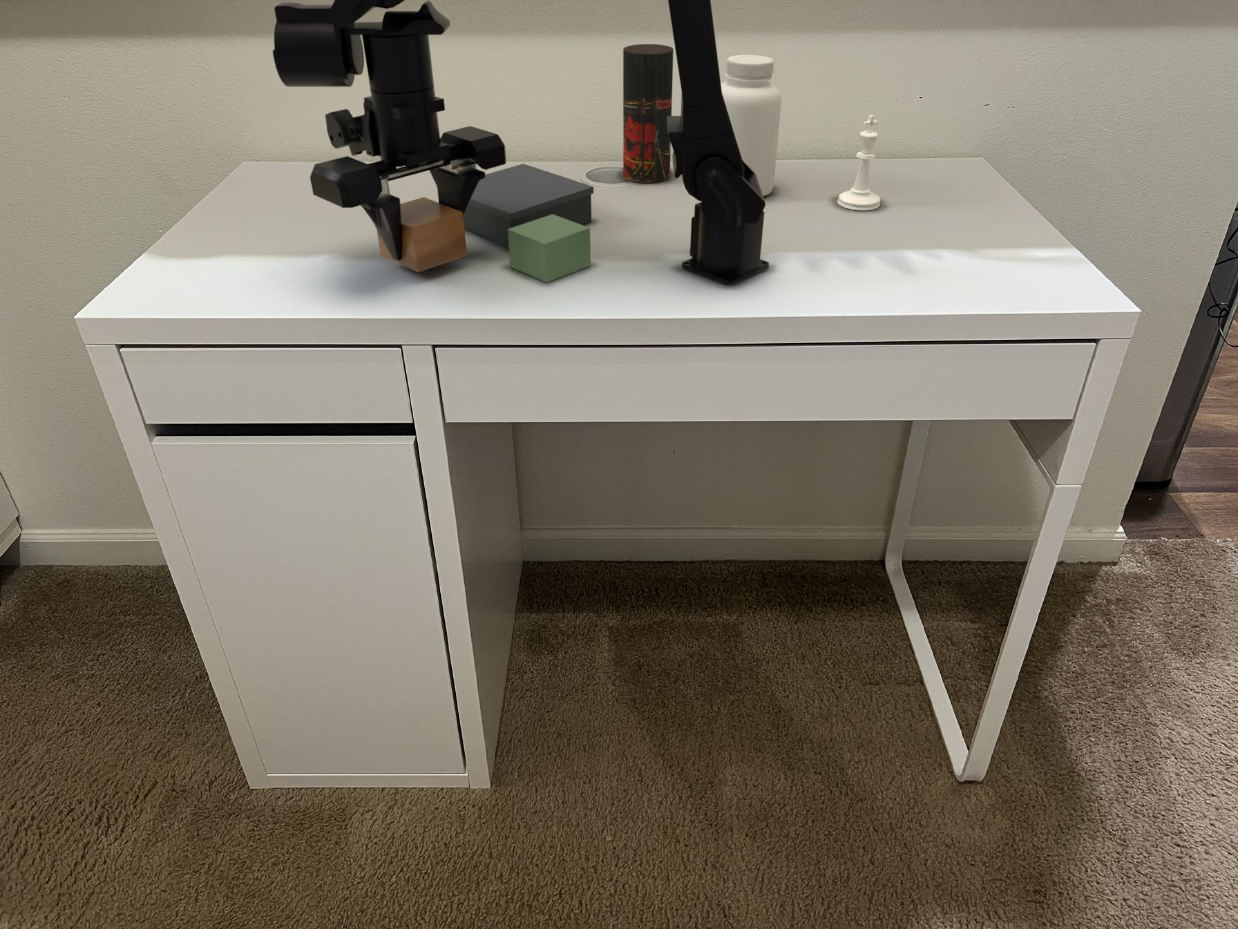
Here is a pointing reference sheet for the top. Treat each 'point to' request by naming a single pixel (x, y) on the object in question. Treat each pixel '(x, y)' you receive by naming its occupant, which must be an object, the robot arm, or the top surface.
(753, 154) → the pill bottle
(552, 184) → the storage box
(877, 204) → the chess piece
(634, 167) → the deodorant
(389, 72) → the robot arm
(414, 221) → the oak box
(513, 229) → the sage box
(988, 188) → the top surface
